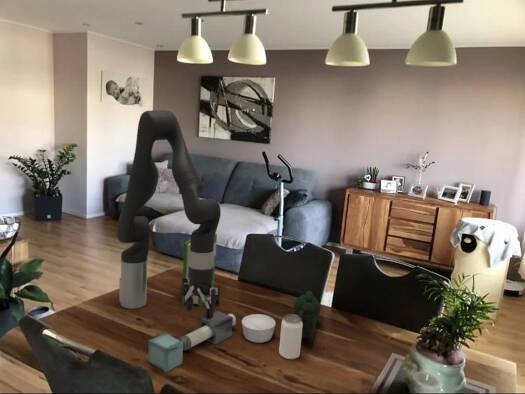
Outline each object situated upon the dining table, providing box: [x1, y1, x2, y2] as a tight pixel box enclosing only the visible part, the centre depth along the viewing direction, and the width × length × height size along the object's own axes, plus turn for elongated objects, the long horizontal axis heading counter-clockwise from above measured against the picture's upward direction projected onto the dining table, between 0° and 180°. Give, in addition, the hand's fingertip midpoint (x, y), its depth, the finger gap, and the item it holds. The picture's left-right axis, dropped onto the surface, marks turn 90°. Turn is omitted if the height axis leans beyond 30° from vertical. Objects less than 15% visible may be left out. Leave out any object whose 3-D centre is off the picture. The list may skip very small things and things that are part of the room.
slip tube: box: [178, 313, 237, 351], centre depth 135 cm, size 4×22×4 cm, turn 143°
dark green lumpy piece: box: [293, 290, 321, 343], centre depth 144 cm, size 9×19×25 cm
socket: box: [147, 332, 184, 373], centre depth 120 cm, size 8×6×6 cm
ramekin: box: [241, 313, 276, 344], centre depth 139 cm, size 11×11×5 cm
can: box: [278, 313, 303, 360], centre depth 129 cm, size 6×6×12 cm
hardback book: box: [181, 233, 218, 308], centre depth 165 cm, size 18×7×24 cm, turn 170°
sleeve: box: [198, 309, 234, 346], centre depth 137 cm, size 8×8×6 cm
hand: (199, 314), depth 129 cm, fingers open, 8 cm apart
